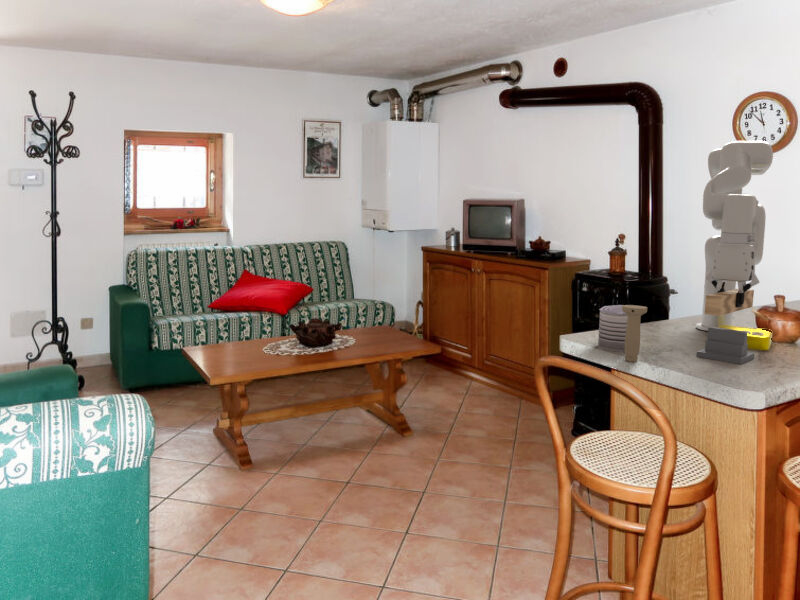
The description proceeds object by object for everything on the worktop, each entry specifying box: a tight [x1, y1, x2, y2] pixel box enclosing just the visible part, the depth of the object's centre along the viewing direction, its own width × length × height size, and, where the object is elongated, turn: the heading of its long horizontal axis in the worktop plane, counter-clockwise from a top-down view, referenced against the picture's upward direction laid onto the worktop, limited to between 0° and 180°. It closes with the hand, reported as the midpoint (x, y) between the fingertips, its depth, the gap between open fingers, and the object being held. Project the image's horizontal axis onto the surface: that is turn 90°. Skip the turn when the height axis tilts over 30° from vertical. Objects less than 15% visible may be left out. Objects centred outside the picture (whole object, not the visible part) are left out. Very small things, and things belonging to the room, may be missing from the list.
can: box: [597, 304, 628, 353], centre depth 211 cm, size 11×11×12 cm
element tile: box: [719, 325, 773, 351], centre depth 220 cm, size 15×15×5 cm
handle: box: [622, 304, 648, 363], centre depth 194 cm, size 5×6×15 cm
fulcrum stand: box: [696, 327, 755, 365], centre depth 200 cm, size 10×12×8 cm
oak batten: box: [705, 288, 755, 316], centre depth 198 cm, size 24×4×5 cm, turn 135°
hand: (729, 305), depth 198 cm, fingers closed on oak batten, 4 cm apart
